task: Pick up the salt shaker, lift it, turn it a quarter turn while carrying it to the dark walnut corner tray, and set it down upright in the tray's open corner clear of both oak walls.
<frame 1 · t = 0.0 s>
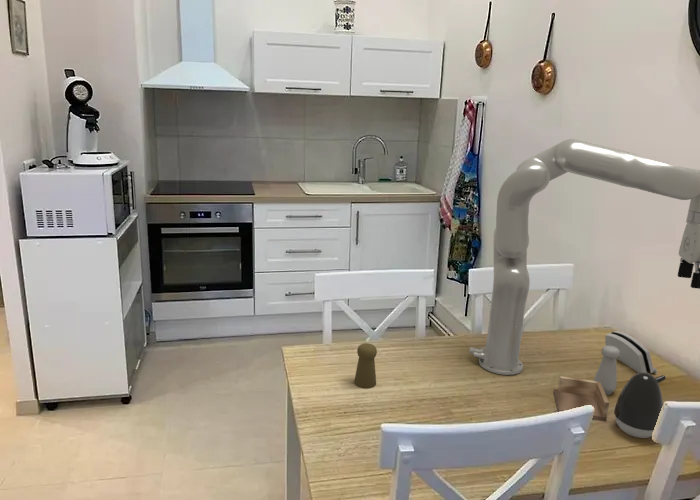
hand: (690, 282, 142), 31 cm above the table, tool pointing down, fingers open, 9 cm apart
white rounded block: (626, 363, 166), on the table
salt shaker: (603, 392, 147), on the table
pump dispenser: (635, 432, 129), on the table
corner tray: (578, 406, 139), on the table
brown pawn: (365, 383, 146), on the table
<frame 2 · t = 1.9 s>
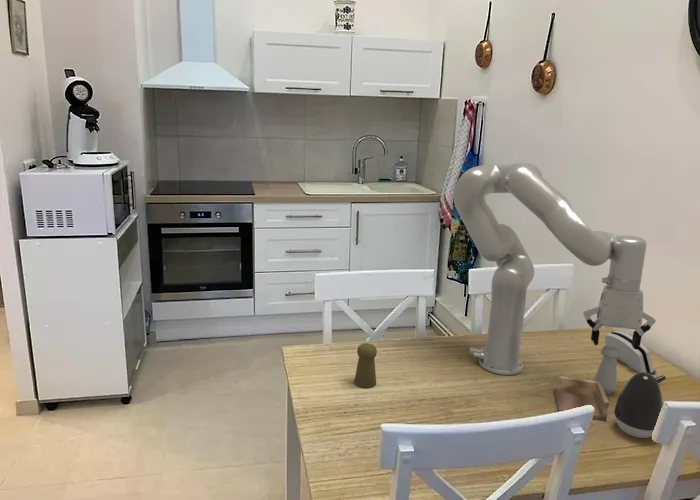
hand: (614, 345, 144), 14 cm above the table, tool pointing down, fingers open, 9 cm apart
nothing on the table moved.
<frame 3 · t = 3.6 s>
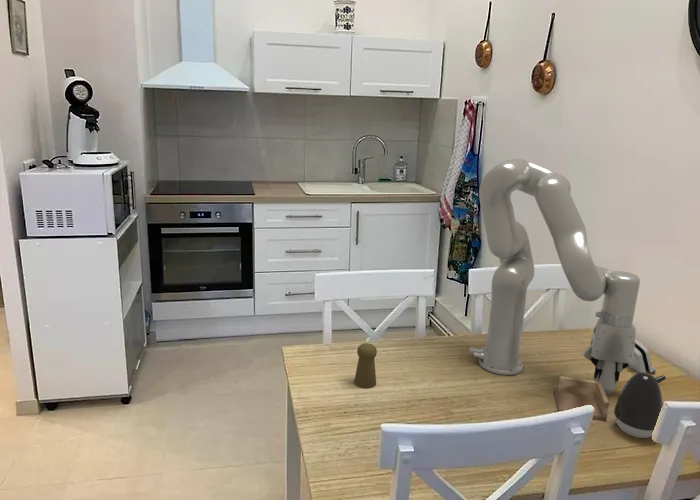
hand: (605, 381, 147), 3 cm above the table, tool pointing down, fingers closed on salt shaker, 3 cm apart
salt shaker: (603, 392, 147), on the table, touching gripper
everything else where it was.
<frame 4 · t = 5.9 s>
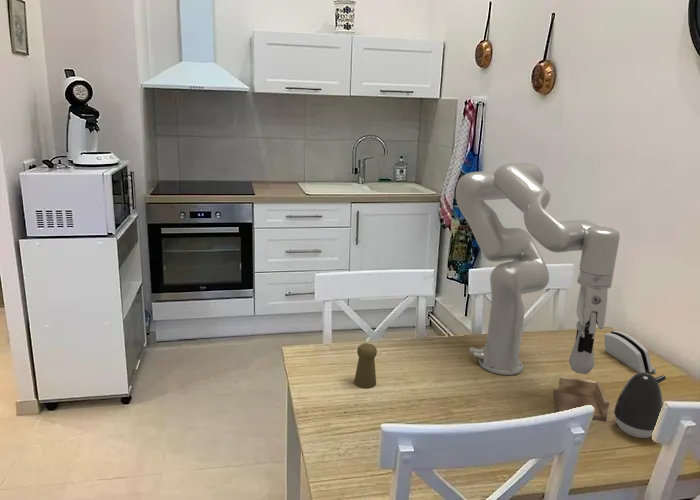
hand: (583, 348, 134), 17 cm above the table, tool pointing down, fingers closed on salt shaker, 3 cm apart
salt shaker: (580, 371, 135), point 10 cm above the table, touching gripper
everything else where it was.
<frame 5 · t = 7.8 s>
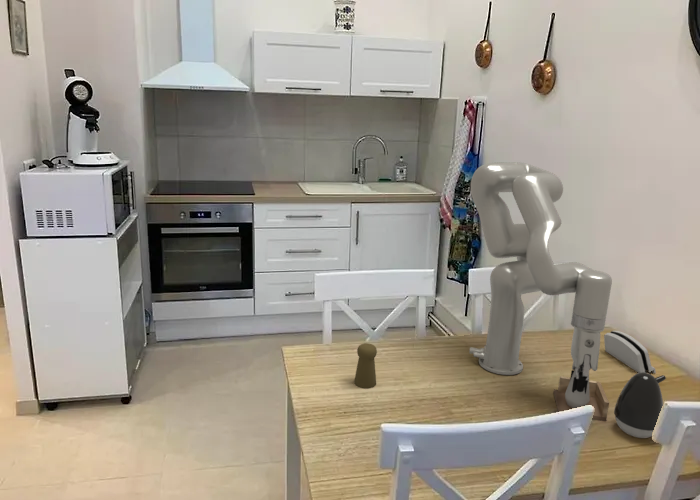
hand: (577, 388, 136), 6 cm above the table, tool pointing down, fingers closed on salt shaker, 3 cm apart
salt shaker: (575, 406, 138), point 1 cm above the table, touching corner tray, gripper
everything else where it was.
when the fingers open (5 cm above the table, at t = 8.1 s): salt shaker stays where it is, resting on corner tray.
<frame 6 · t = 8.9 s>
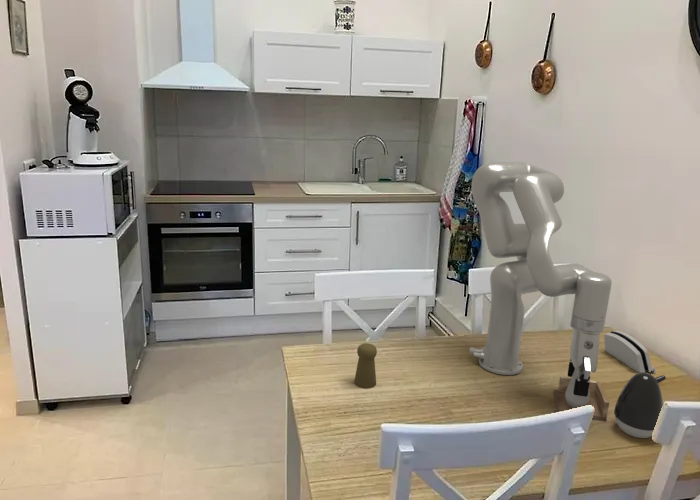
hand: (576, 385, 137), 6 cm above the table, tool pointing down, fingers open, 9 cm apart
salt shaker: (575, 406, 138), point 1 cm above the table, touching corner tray
everything else where it was.
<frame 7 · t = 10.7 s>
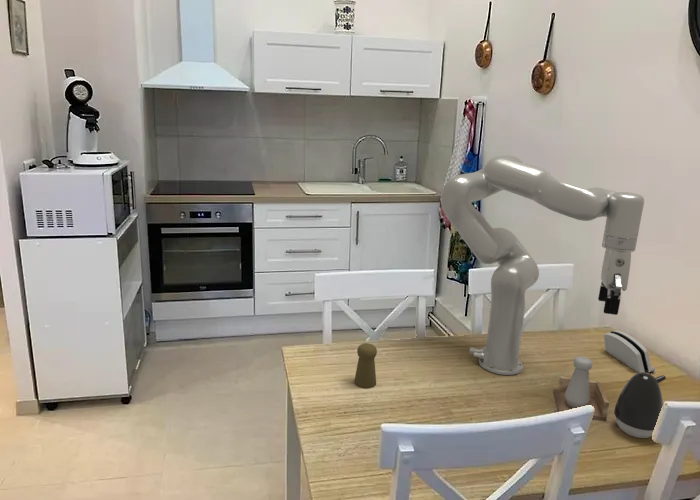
hand: (607, 307, 139), 25 cm above the table, tool pointing down, fingers open, 9 cm apart
nothing on the table moved.
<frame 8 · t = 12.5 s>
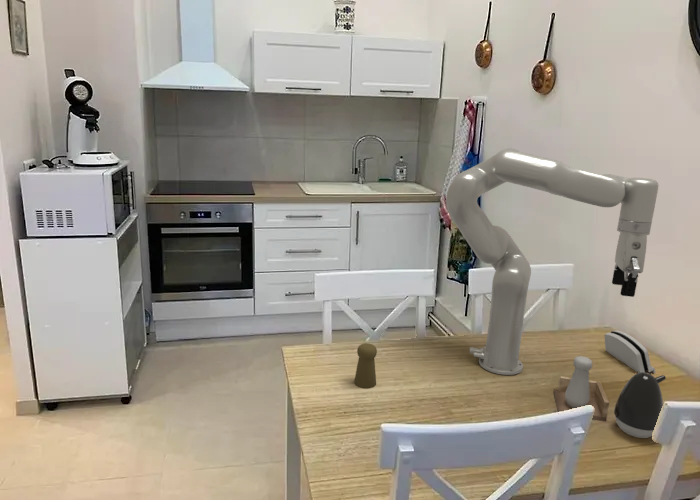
hand: (622, 290, 143), 28 cm above the table, tool pointing down, fingers open, 9 cm apart
nothing on the table moved.
at the end: salt shaker 0.5 cm from the target spot on the corner tray, point 0.8 cm above the corner tray's base; salt shaker tilted 0°; the gripper is holding nothing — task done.
